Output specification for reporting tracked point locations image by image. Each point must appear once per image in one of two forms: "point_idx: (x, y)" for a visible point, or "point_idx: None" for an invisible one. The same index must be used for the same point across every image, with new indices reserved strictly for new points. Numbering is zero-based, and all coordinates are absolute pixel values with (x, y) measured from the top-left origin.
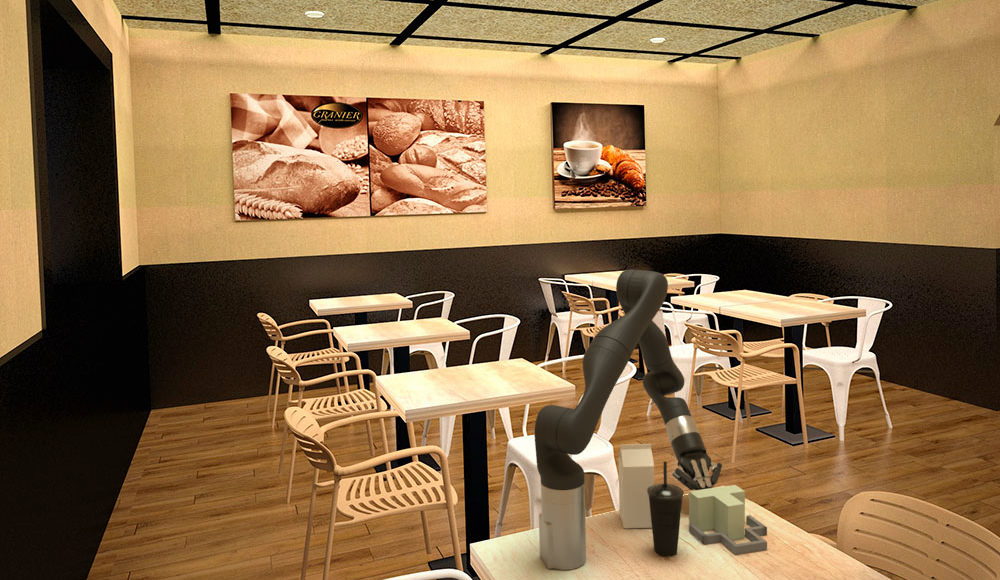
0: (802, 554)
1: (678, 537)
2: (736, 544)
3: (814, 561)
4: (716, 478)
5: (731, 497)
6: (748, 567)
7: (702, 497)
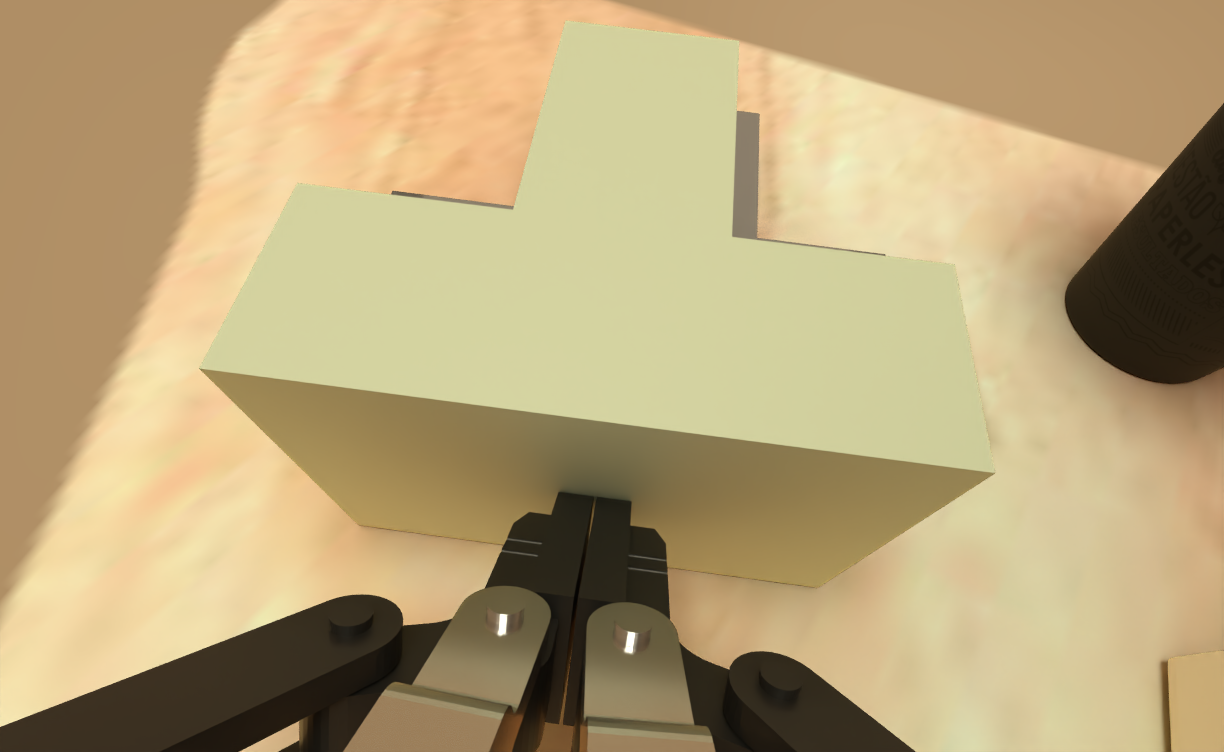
0: (432, 52)
1: (1137, 203)
2: (737, 125)
3: (442, 7)
4: (266, 646)
5: (572, 137)
6: (757, 70)
7: (888, 257)
